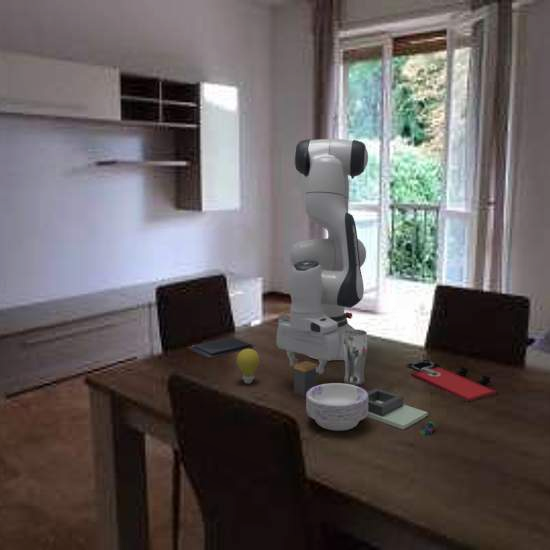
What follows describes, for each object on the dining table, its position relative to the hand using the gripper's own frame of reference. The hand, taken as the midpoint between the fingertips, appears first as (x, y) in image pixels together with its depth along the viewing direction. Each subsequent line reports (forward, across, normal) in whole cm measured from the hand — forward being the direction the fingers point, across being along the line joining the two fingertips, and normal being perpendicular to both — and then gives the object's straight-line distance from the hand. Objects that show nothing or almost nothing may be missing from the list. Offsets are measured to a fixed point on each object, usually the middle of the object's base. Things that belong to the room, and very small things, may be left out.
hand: (306, 369), depth 166 cm
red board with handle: (+8, +23, +37) cm, 44 cm away
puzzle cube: (+9, +37, +2) cm, 38 cm away
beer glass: (+7, +4, +16) cm, 18 cm away
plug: (+7, -1, 0) cm, 7 cm away
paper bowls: (+8, +18, -10) cm, 22 cm away
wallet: (+6, -49, +11) cm, 50 cm away
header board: (+7, +21, +4) cm, 23 cm away
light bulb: (+7, -18, -5) cm, 20 cm away
